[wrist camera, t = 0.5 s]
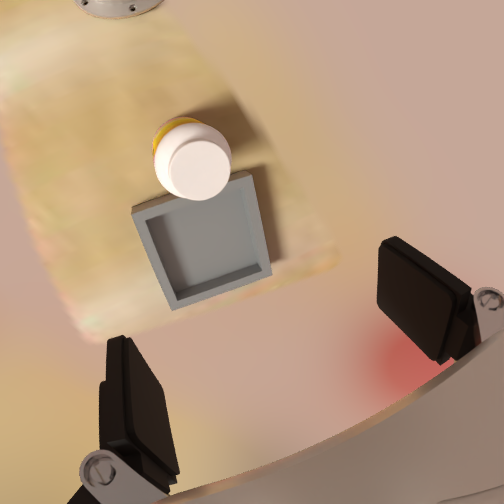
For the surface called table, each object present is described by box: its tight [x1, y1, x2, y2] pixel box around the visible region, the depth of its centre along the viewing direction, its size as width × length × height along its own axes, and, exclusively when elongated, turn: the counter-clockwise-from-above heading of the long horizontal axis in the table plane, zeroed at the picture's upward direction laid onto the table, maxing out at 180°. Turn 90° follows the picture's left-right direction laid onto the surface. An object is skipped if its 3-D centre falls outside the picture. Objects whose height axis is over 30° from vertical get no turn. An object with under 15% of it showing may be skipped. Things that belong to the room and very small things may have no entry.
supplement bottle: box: [152, 117, 232, 201], centre depth 28 cm, size 7×7×13 cm
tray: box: [131, 170, 272, 311], centre depth 39 cm, size 14×14×2 cm
